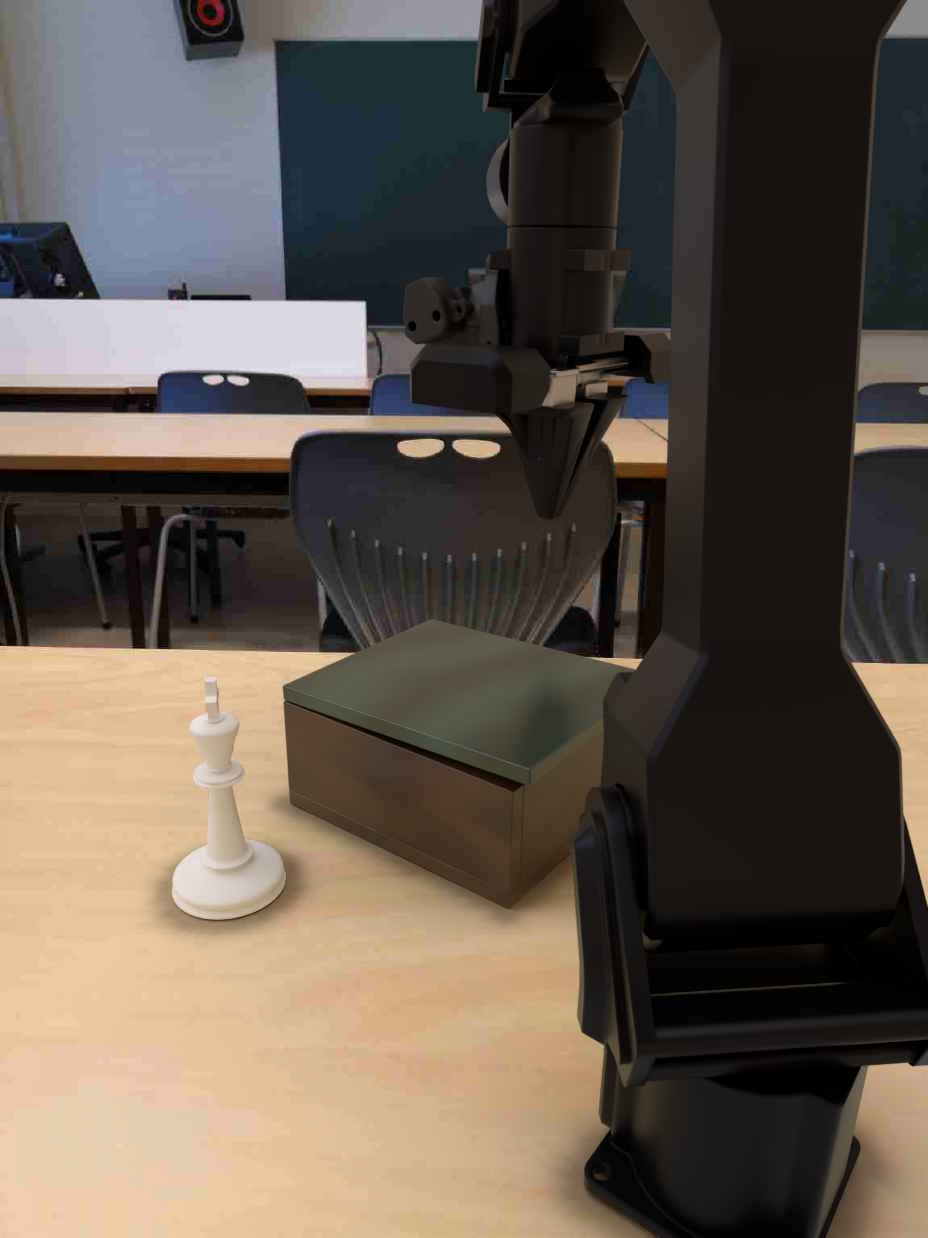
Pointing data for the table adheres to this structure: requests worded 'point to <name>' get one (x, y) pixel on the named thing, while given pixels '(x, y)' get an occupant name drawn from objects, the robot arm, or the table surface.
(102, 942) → the table surface
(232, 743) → the chess piece
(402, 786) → the wooden box
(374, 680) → the box lid
